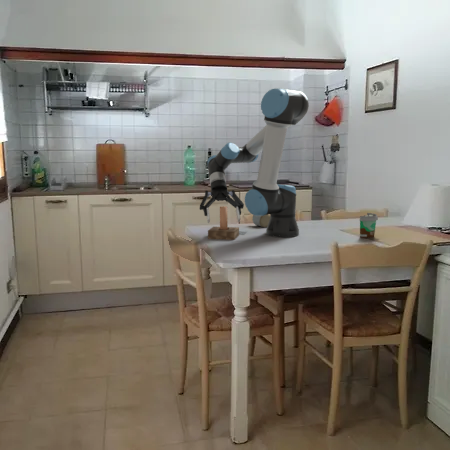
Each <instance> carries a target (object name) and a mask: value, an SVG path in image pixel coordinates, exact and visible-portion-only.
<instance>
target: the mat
mask: <svg viewBox="0 0 450 450" xmlns="http://www.w3.org/2000/svg"><path fill="white" fill-rule="evenodd" d="M247 233H248V231H240V230H239V236H245V235H246V234H247Z"/></svg>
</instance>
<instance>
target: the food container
mask: <svg viewBox="0 0 450 450" xmlns="http://www.w3.org/2000/svg"><path fill="white" fill-rule="evenodd" d="M377 221H378V215H377V214H376V213H373V212H372V213H371V212H367V214H366V215H361V216H359V238H360V239H373V238H375V234H376V227H377V226H376V225H377Z"/></svg>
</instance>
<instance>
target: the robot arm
mask: <svg viewBox="0 0 450 450" xmlns="http://www.w3.org/2000/svg"><path fill="white" fill-rule="evenodd" d="M309 103H310V102H309V99H308V97H307V96H306V94H305V93H304V92H302V91H301V90H297V89H286V88H280V87H278V88H277V87H275V88H271V89H269V90H268V91H266V92H265V94H264V95H263V96H262V99H261V102H260V110H261V113H262V114H263V116H264V118H263V121H264V123H266V125H265V126H264V127H263V128H262V129H260V130H259V131H258V132H257V133H256V134H255V135H254V136H253V137H252V138H251V139H250V140H249V141H248V142H246V144H245V145H243V146H238V145H237V144H235V143H233V142H226V144H225V145H224V146H222V148H221V149H220V150H219V151H218V153H217V154H214V155H212V156H209V157H208V158H207V161H206V162H207V163H206V164H207V170H208V171H207V172H208V176H209V177H208V178H209V184H210V191H208V190H205V191H204V196H203V198H202V200H201V202H200V204H199V210H200V211H203V215H204V216H205V217H206V219H207V223H208V224H210V223H211V222H210V221H211V218H210V210H209V208H210V207H211V206H212V205H213V203H215V202H216V201H217V202H220V201H221V202H223V201H225V202H226V203H228V204H230V205H231V206H232V207H233V208H235V214H236V215H235V216H236V220H237V223H240V222H241V221H240V220H241V214H242V209H243V210H244V205H245V208H246V209H247V211H248V212H249V213H250V215H252V216H253V215H255V216H264V215H270V220H269V223H268V226H267V227H266V230H265V234H266V235H267V236H269V237H275V238H292V237H293V238H294V237H297V236H299V235H300V229H299V226H298V222H297V219H296V211H297V210H296V209H297V208H296V207H297V206H296V205H297V197H296V196H297V191H296V190H297V189H296V187H295V186H294V185H287V184H278V182H277V181H278V177H279V173H280V166H281V162H282V158H283V157H282V156H283V152H284V146H285V141H286V136H287V132H288V131H287V130H288V129H289V128H290V127H291V126H295V125H297V124H298V123H299V122H301V120H303V118H304V117H305V116H306V115H307V113H308V111H309V106H310V105H309ZM260 153H261V156H260V161H259V168H258V171H257V172H258V174H257V176H256V177H257V178H256V180H254V181H253V183H252V186H251V189H249V190H248V191H246V193H245V195H244V203H243V201H242V200H241V199H240V198H239V196H238V195H237V194H236V192H235V189H234V190H233V189H232V190H231V191H228V186H227V179H226V173H225V170H226V169H227V168H228V167H229V166H230V165H231V164H245V163H247V164H251V163H254V162H256V161H257V160H258V157H259V154H260ZM210 196H211V198H210V199H209V200H208V198H209V197H210ZM207 200H208V201H207ZM206 201H207V202H206Z"/></svg>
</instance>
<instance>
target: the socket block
mask: <svg viewBox="0 0 450 450" xmlns="http://www.w3.org/2000/svg"><path fill="white" fill-rule="evenodd" d="M239 231H240V227H236V226H234V227H232V226H228V230H220V226H212V227H211V228H209V229H207V239H209V240H228V241H229V240H230V241H235V240H236V239H237V238H238V237H239V236H240V235H239Z"/></svg>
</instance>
